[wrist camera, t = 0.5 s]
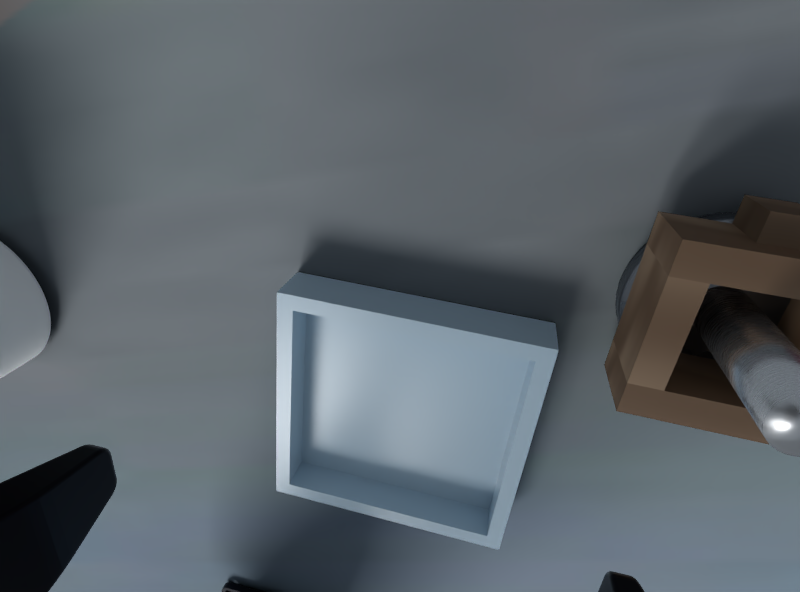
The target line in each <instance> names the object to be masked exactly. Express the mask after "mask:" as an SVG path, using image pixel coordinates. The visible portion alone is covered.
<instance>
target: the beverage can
mask: <svg viewBox="0 0 800 592" xmlns="http://www.w3.org/2000/svg"><path fill="white" fill-rule="evenodd" d="M50 331H51V317H50V311H49V307H48V303H47V300H46V298H45V295H44V293H43V291H42V289H41V287H40V285H39V283H38V281H37V280H36V278H35V277H34V275H33V274H32V272H31V271H30V270H29V268H28V267H27V266H26V265H25V263H24V262H23V261H22V260H21V259H20V258H19V257H18V256H17V255H16V254H15V253H14V252H13V251H12V250H11V249H10V248H8V247H7V246H6V245H5V244H3V243H2V242H1V241H0V378H2V377H4V376H5V375H7V374H8V373H10V372H12V371H13V370H15V369H17V368H18V367H20V366H21V365H23V364H25V363H26V362H28V361H29V360H31V359H33V358H34V357H36V356H37V355H38V354H40V353H41V351H42V350H43V349H44V348H45V346H46V344H47V342H48V339H49V336H50Z"/></svg>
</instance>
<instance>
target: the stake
mask: <svg viewBox="0 0 800 592" xmlns="http://www.w3.org/2000/svg"><path fill="white" fill-rule="evenodd" d="M736 214H737V213H736V212H729V213H714V214H707V215H702V216H698V217H695V218H702V219H708V220H714V221H720V222H726V223H733V221H734V219H735V216H736ZM646 245H647V243H646V244H645V245H644V246H643V247H642V248H641V249H640V250H639V251H638V252H637V253H636V254H635V256H634V257H633V258H632V260H631V261H630V262H629V264H628V265H627V267H626V269H625V271H624V272H623V275H622V277H621V279H620V282H619V285H618V289H617V294H616V315H617V319H618V323H619V322H620V319H621V316H622V313H623V310H624V308H625V305H626V302H627V299H628V296H629V293H630V291H631V288H632V285H633V282H634V279H635V276H636V274H637V271H638V268H639V265H640V262H641V259H642V257H643V254H644V251H645V248H646ZM790 300H791V298H786V297H780V296H775V295H769V294H764V293H758V292H752V291H747V290H741V289H736V288H730V287H725V286H719V285H714V284H710V285H709V288H708V290H707V292H706V295H705V297H704V299H703V302H702V304H701V306H700V309H699V311H698V313H697V316H696V318H695V320H694V323H693V325H692V327H691V330H690V332H689V334H688V337H687V339H686V341H685V344H684V346H683V348H682V351H681V353H684V354H689V355H694V356H699V357H704V358H709V359H714V360H716V361H717V363H718V365H719V366H720V368H721V369H722V371H723V373H724V374H725V376H726V377H727V379H728V380H729V382H730V384H731V385H732V387H733V388H734V390H735V391H736V393H737V395H738V396H739V398H740V399H741V401H742V403H743V404H744V406H745V407H746V409H747V410H748V412H749V414H750V415H751V417H752V418H753V420H754V421H755V423H756V425H757V426H758V428H759V429H760V431H761V433H762V434H763V436H764V437H765V439H766V440H767V442H768V443H769V444H770V445H771V446H772V447H773V448H775V449H776V450H778V451H780V452H782V453H784V454H787V455H791V456H798V457H800V351H799V350H798V349H797V347H796V346H795V345H794V344H793V343H792V342H791V341H790V340H789V339H788V338H787V337H786V336H785V335H784V334H783V333H782V331H781V330H780V329H779V328H778V327H777V325H778V323H779V321H780V320H781V318H782V316H783V314H784V312H785V310H786V308H787V306H788V304H789V302H790Z"/></svg>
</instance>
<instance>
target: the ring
mask: <svg viewBox="0 0 800 592" xmlns="http://www.w3.org/2000/svg"><path fill="white" fill-rule="evenodd" d="M710 284H714V285H719V286H725V287H730V288H736V289H741V290H747V291H752V292H758V293H764V294H769V295H775V296H780V297H786V298H791V300H790V302H789V304H788V306H787V308H786V310H785V312H784V314H783V316H782V318H781V320H780V321H779V323H778V325H777V327H778V328H779V329H780V330H781V331H782V333H783V334H784V335H785V336H786V337H787V338H788V339H789V340H790V341H791V342H792V343H793V344H794V345H795V346H796V347H797V349H798V350H799V351H800V204H798V203H795V202H789V201H782V200H776V199H769V198H763V197H756V196H750V195H744V197H743V200H742V202H741V204H740V207H739V209H738V211H737V214H736V216H735V219H734V221H733V223H726V222H720V221H714V220H708V219H702V218H695V217H689V216H683V215H677V214H671V213H665V212H659V211H658V214H657V217H656V220H655V223H654V225H653V228H652V231H651V234H650V237H649V240H648V242H647V245H646V248H645V251H644V254H643V257H642V259H641V262H640V265H639V268H638V271H637V274H636V276H635V279H634V282H633V285H632V288H631V291H630V293H629V296H628V299H627V302H626V305H625V308H624V310H623V313H622V316H621V319H620V322H619V325H618V327H617V330H616V333H615V336H614V339H613V342H612V344H611V347H610V350H609V353H608V356H607V358H606V361H605V364H604V365H605V369H606V373H607V377H608V381H609V384H610V388H611V392H612V396H613V399H614V403H615V407H616V411H619V412H624V413H628V414H633V415H638V416H642V417H647V418H651V419H656V420H660V421H665V422H669V423H674V424H679V425H683V426H688V427H692V428H697V429H701V430H706V431H710V432H715V433H720V434H724V435H729V436H733V437H738V438H742V439H747V440H752V441H756V442H761V443H765V444H769V443H768V442H767V440H766V439H765V437H764V436H763V434H762V433H761V431H760V429H759V428H758V426H757V425H756V423H755V421H754V420H753V418H752V417H751V415H750V414H749V412H748V410H747V409H746V407H745V406H744V404H743V403H742V401H741V399H740V398H739V396H738V395H737V393H736V391H735V390H734V388H733V387H732V385H731V384H730V382H729V380H728V379H727V377H726V376H725V374H724V373H723V371H722V369H721V368H720V366H719V365H718V363H717V361H716V360H714V359H709V358H704V357H699V356H694V355H689V354H684V353H681V351H682V348H683V346H684V344H685V341H686V339H687V337H688V334H689V332H690V330H691V327H692V325H693V323H694V320H695V318H696V316H697V313H698V311H699V309H700V306H701V304H702V302H703V299H704V297H705V295H706V292H707V290H708V288H709V285H710Z"/></svg>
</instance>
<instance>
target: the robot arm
mask: <svg viewBox="0 0 800 592" xmlns="http://www.w3.org/2000/svg"><path fill="white" fill-rule="evenodd" d="M116 483H117V478H116V474H115V470H114V465H113V461H112V457H111V453H110V451H109V450H108V449H106V448H103V447H99V446H95V445H84V446H81V447H79V448H77V449H74V450H72V451H70V452H68V453H66V454H63V455H61V456H59V457H57V458H55V459H52V460H50V461H48V462H46V463H43V464H41V465H39V466H37V467H35V468H32V469H30V470H28V471H26V472H24V473H21V474H19V475H17V476H15V477H13V478H10V479H8V480H6V481H4V482H1V483H0V592H48V591H49V590H50V589H51V587H52V586H53V585H54V583H55V582H56V581H57V579H58V578H59V576H60V575H61V574H62V572H63V571H64V569H65V568H66V566H67V565H68V563H69V562H70V560H71V559H72V557H73V556H74V554H75V553H76V551H77V550H78V548H79V546H80V545H81V543H82V542H83V540H84V539H85V537H86V535H87V534H88V532H89V531H90V529H91V527H92V526H93V524H94V523H95V521H96V520H97V518H98V516H99V515H100V513H101V512H102V510H103V509H104V507H105V505H106V504H107V502H108V501H109V499H110V497H111V496H112V494H113V492H114V490H115V487H116ZM222 592H261V591H258V590H254V589H251V588H248V587H244V586H241V585H237V584H234V583H230V582H228V583H226V584H225V585H224V587H223V589H222ZM598 592H644V590H643V589H642V587H641V586H640V584H639V583H638V581H637V580H636V579H635V578H633V577H632V576H629V575H625V574H621V573H617V572H613V571H609V572H607V573H606V575H605V576H604V579H603V581H602V584H601V586H600V588H599V591H598Z"/></svg>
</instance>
